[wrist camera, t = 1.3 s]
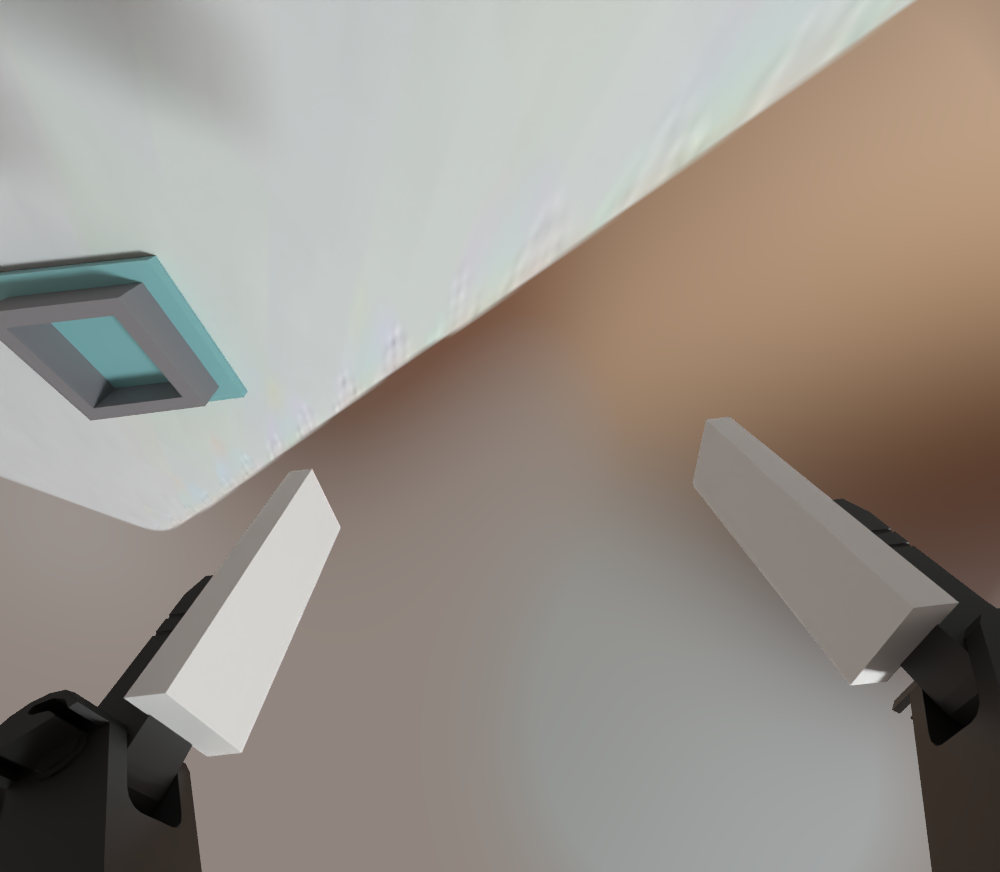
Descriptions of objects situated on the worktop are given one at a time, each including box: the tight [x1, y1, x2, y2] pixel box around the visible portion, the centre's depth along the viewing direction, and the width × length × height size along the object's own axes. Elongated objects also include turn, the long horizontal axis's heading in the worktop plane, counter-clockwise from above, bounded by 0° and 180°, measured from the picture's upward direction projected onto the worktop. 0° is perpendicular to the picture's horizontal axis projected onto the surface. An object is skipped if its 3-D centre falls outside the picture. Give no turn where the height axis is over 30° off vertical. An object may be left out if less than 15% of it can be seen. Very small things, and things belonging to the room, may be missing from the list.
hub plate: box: [0, 256, 247, 420], centre depth 31 cm, size 13×13×4 cm
